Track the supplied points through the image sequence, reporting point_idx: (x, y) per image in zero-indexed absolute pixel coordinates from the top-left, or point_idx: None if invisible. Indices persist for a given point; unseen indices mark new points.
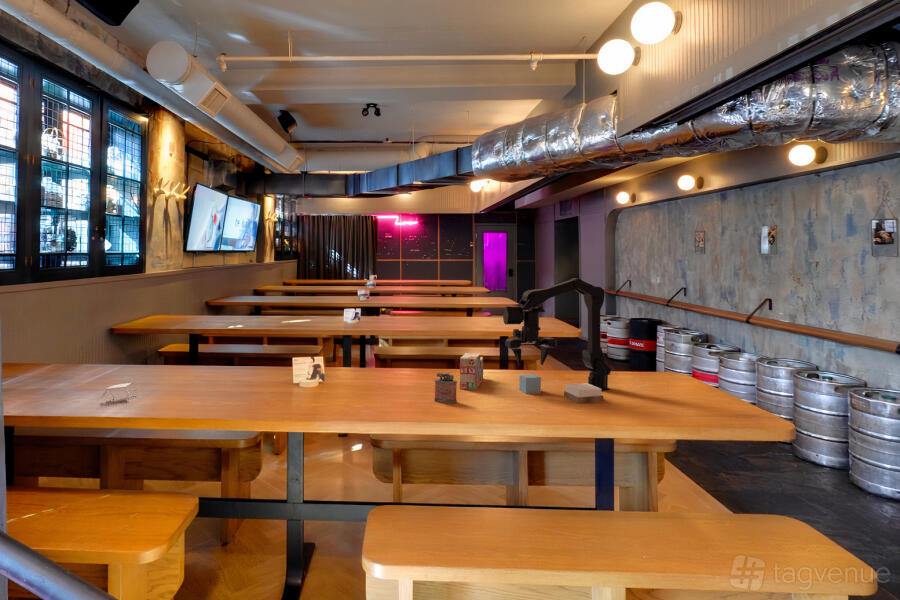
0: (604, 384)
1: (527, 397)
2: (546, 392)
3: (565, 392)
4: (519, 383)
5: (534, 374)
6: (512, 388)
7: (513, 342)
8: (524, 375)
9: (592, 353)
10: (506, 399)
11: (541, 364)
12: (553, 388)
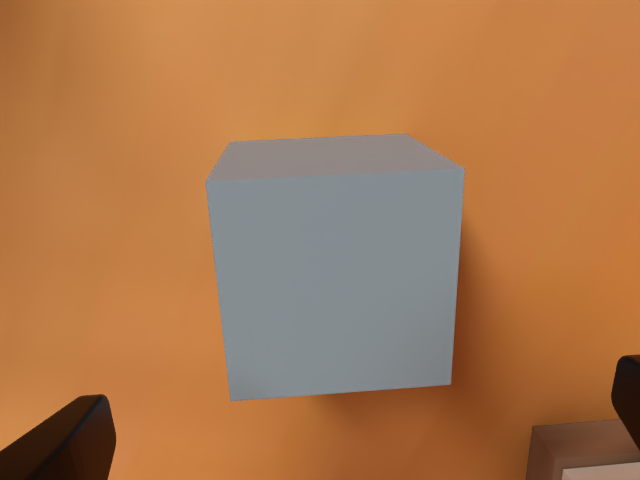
0: None
1: (215, 418)
2: (466, 283)
3: (549, 475)
4: (221, 158)
5: (459, 195)
6: (175, 36)
7: None
8: (270, 241)
9: None
10: None
11: (618, 393)
12: (631, 134)
